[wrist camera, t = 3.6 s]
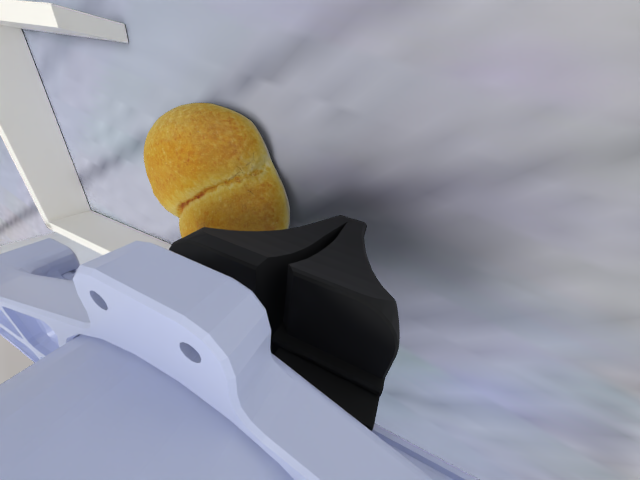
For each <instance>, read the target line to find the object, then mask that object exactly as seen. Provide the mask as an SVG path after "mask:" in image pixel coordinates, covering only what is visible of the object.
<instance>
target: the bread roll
mask: <svg viewBox="0 0 640 480" xmlns="http://www.w3.org/2000/svg"><path fill="white" fill-rule="evenodd" d="M144 163H145V168H146V173H147V176H148V178H149V181H150V183H151V186H152V189H153V193H154V195H155V196H156V197H157V199H158V200H159V202H160V203H161V205H162V206H163V207H164V208H165V209H166V210H167V211H169V212H170V213H172V214H173V215H175V216H177V217H179V218H180V219H179V227H180V232H181V236H182V238H183V237H185V236H187V235H189V234H191V233H193V232H195V231H197V230H199V229H201V228H203V227H208V228H216V229H225V230H236V231H271V230H283V229H288V228H289V223H290V206H289V201H288V198H287V195H286V192H285V189H284V186H283V183H282V181H281V180H280V178H279V175H278V173H277V170H276V169H275V168H274V165H273V163H272V161H271V157H270V154H269V151H268V149H267V147H266V145H265V143H264V141H263V138H262V136H261V135H260V133H259V131H258V130H257V128H256V126H255V125H254V124H253V122H252V121H251V120H249V119H248V118H246V117H245V116H243V115H241V114H239V113H237V112H235V111H233V110H230V109H228V108H225V107H222V106H218V105H215V104H210V103H191V104H185V105H181V106H178V107H176V108H174V109H172V110H170V111H168V112H167V113H165V114H164V115H162V116H161V117H160V118H159V119H158V120H157V121H156V122H155V123H154V125H153V126H152V128H151V129H150V131H149V133H148V135H147V138H146V141H145V145H144Z"/></svg>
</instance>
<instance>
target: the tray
mask: <svg viewBox="0 0 640 480" xmlns="http://www.w3.org/2000/svg"><path fill="white" fill-rule="evenodd" d="M22 29H27V30H34V31H42V32H49V33H56V34H64V35H71V36H78V37H86V38H93V39H101V40H108V41H115V42H123V43H128V38H127V33H126V29H125V24H123V23H119V22H116V21H112V20H109V19H105V18H101V17H98V16H94V15H91V14H87V13H84V12H80V11H77V10H73V9H69V8H66V7H62V6H59V5H55V4H52V3H43V2H30V1H18V0H0V135H1V137H2V139H3V141H4V143H5V145H6V147H7V149H8V151H9V153H10V155H11V157H12V159H13V161H14V163H15V165H16V167H17V169H18V171H19V173H20V175H21V177H22V179H23V181H24V183H25V185H26V187H27V189H28V191H29V193H30V195H31V197H32V199H33V201H34V203H35V205H36V207H37V209H38V210H39V212H40V214H41V216H42V218H43V220H44V222H45V224H46V226H47V228H49V229H51V230H53V231H55V232H57V233H59V234H61V235H63V236H65V237H67V238H69V239H71V240H73V241H75V242H77V243H79V244H81V245H84V246H86V247H88V248H90V249H92V250H94V251H96V252H98V253H100V254H102V255H104V254H107V253H109V252H111V251H114V250H116V249H118V248H121V247H123V246H125V245H128V244H130V243H132V242H135V241H142V242H150V243H153V244H156V245H158V246H161V247H163V248H165V249H168V250H169V248H170V247H171V244H169V243H167V242H165V241H162V240H160V239H158V238H155V237H153V236H151V235H148V234H146V233H143V232H141V231H139V230H136V229H134V228H132V227H129V226H127V225H125V224H122V223H120V222H118V221H115V220H113V219H111V218H108V217H106V216H103V215H101V214H99V213H96V212H94V211H92V210H91V209H90V207H89V204H88V201H87V199H86V196H85V194H84V191H83V188H82V186H81V183H80V181H79V178H78V175H77V173H76V170H75V168H74V165H73V162H72V160H71V157H70V154H69V152H68V149H67V147H66V144H65V141H64V139H63V136H62V134H61V131H60V128H59V126H58V123H57V121H56V118H55V115H54V113H53V110H52V108H51V105H50V102H49V100H48V97H47V94H46V92H45V89H44V87H43V84H42V81H41V79H40V76H39V74H38V71H37V68H36V66H35V63H34V61H33V58H32V55H31V53H30V50H29V48H28V45H27V42H26V40H25V37H24V34H23V32H22Z"/></svg>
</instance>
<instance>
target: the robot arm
mask: <svg viewBox="0 0 640 480" xmlns="http://www.w3.org/2000/svg"><path fill="white" fill-rule="evenodd" d="M366 227H367V225H366V223H365V222H361V221H358V220H355V219H352V218H348V217H345V216H342V215H339V216H335V217H332V218H329V219H326V220H322V221H319V222H316V223H312V224H308V225H304V226H300V227H296V228H290V229H283V230H271V231H236V230H225V229H216V228H208V227H203V228H201V229H199V230H197V231H195V232H193V233H191V234H189V235H187V236H185V237H183V238H181V239H179V240H177V241H176V242H174V243H173V244H172V245H171V247H170V248H169V250H168V249H165V248H163V247H161V246H158V245H156V244H153V243H150V242H142V241H135V242H132V243H130V244H128V245H125V246H123V247H121V248H118V249H116V250H114V251H111V252H109V253H107V254H104V255H102V256H100V257H98V258H95V259H93V260H91V261H88V262H86V263H84V264H81V265H80V263H79V260H78V258H77V256H76V254H75V253H74V252H73V250H72V249H71V248H69V247H68V246H66V245H64V244H62V243H60V242H58V241H56V240H54V239H51V238H47V239H44V240H41V241H38V242H35V243H32V244H29V245H26V246H23V247H20V248H17V249H14V250H11V251H8V252H5V253H1V254H0V335H1V336H2V337H4V338H5V339H6V340H8V341H9V342H10V343H11V344H13V345H14V346H15V347H16V348H17V349H19V350H20V351H21V352H22V353H24V354H25V355H26V356H27V357H28V358H30V359H31V360H32V361H33V362H34V364H32V365H31V366H29V367H27V368H26V369H24V370H23V371H21V372H19V373H18V374H16V375H15V376H13V377H11V378H10V379H8V380H7V381H5V382H4V383H2V384H0V480H480V479H478V478H476V477H474V476H472V475H470V474H469V473H467V472H465V471H463V470H461V469H459V468H457V467H455V466H454V465H452V464H450V463H448V462H446V461H444V460H442V459H440V458H439V457H437V456H435V455H433V454H431V453H429V452H427V451H425V450H424V449H422V448H420V447H418V446H416V445H414V444H412V443H410V442H408V441H407V440H405V439H403V438H401V437H399V436H397V435H395V434H393V433H392V432H390V431H388V430H386V429H384V428H382V427H380V426H378V425H377V424H375V423H374V422H375V417H376V412H377V407H378V402H379V397H380V396H381V394H382V391H383V386H384V380H385V377H386V375H387V373H388V371H389V369H390V367H391V365H392V363H393V361H394V359H395V357H396V355H397V352H398V348H399V318H398V310H397V304H396V301H395V299H394V298H393V297H392V296H391V295H390V294H389V293H388V292H387V291H386V290H385V289H384V288H383V286H382V285H381V284H380V282H379V281H378V280H377V278H376V276H375V274H374V273H373V271H372V269H371V266H370V264H369V261H368V258H367V254H366V250H365V244H364V234H365V231H366Z"/></svg>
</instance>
